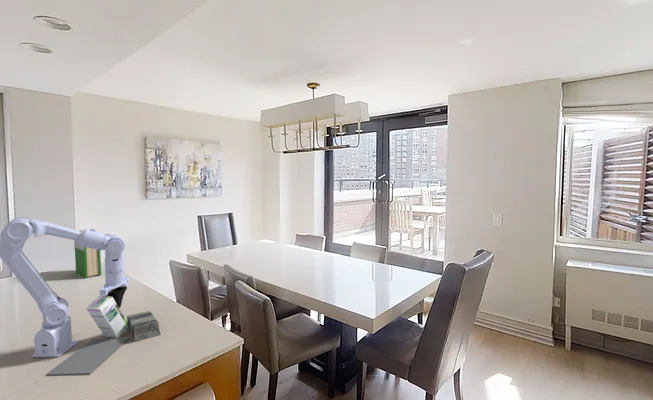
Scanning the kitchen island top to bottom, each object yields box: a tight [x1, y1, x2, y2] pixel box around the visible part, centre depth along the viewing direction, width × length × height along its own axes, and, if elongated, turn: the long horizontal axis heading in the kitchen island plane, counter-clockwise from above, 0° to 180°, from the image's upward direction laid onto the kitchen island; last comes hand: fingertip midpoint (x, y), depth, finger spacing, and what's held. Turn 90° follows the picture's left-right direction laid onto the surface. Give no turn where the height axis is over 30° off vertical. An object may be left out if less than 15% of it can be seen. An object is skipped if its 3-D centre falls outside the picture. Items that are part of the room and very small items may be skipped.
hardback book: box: [73, 229, 102, 279], centre depth 190 cm, size 18×7×24 cm, turn 50°
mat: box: [45, 337, 130, 376], centre depth 105 cm, size 20×12×1 cm, turn 3°
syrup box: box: [86, 295, 129, 338], centre depth 115 cm, size 6×6×14 cm
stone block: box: [126, 310, 161, 343], centre depth 122 cm, size 9×14×5 cm, turn 39°
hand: (116, 308), depth 119 cm, fingers closed
